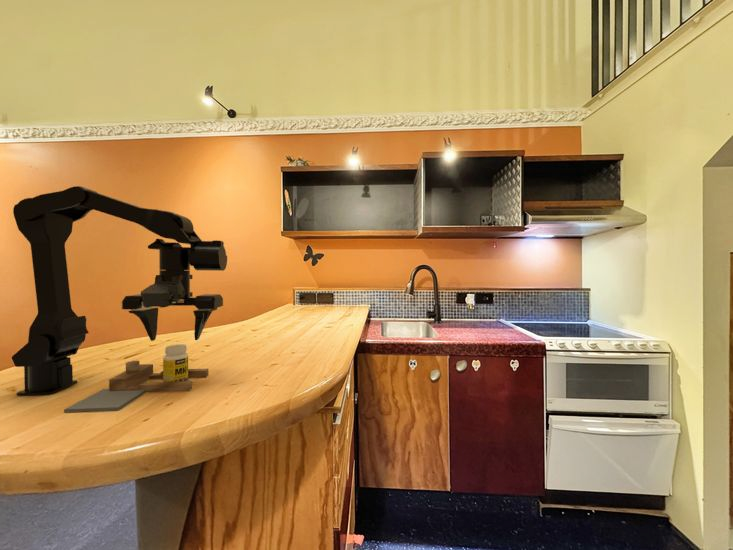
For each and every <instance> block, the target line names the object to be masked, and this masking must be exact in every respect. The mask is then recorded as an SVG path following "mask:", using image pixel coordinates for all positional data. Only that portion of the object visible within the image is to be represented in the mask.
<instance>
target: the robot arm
mask: <svg viewBox="0 0 733 550" xmlns="http://www.w3.org/2000/svg"><path fill="white" fill-rule="evenodd" d="M12 209H13V210H12V212H13V213H12V214H13V217H14V220H15V223H16V227H17V229H18V231H19V232H20V233H21V234H22V235H23V236H24V238H25V239H26V240H27V242H28V243H29V244H30V251H31V262H32V269H33V270H32V271H33V281H34V289H35V296H36V306H37V307H36V308H37V314H36V316H35V318H34V319H33V321H32V323H31V325H30V327H29V328H28V337H27V338H28V339H27V342H26V344H24V345H23V346H22V347H21V348H20V349H19V350H18V351H16V352H15V353H14V354H13V355H12V356H11V360H12V362H13V364H14V367H16V368H20V367H21V368H22V367H23V371H24V372H23V373H24V374H23V375H24V377H23V379H24V382H23V383H24V389H23V390H19V391H18V392H16V396H32V395H33V396H34V395H51V394H55V393H56V392H59V391H61V390H64V389H65V388H68V387H70V386H72V385H75V384H77V383H78V380H77V379H76V380H75V379H74V377H73V372H74V371H73V364H71V361H72V360H71V357H70V356H74V355H76V354H77V353H78V351H79V349H80V347H81V345H83V343H84V342H85V340H86V335H87V334H89V330H88V329H87V318H86V316H85V315H82V316H81V315H80V316H79V315H78V314H77V313H75V312H74V310H73V309H72V302H71V301H72V299H71V291H70V290H71V289H70V282H69V273H68V263H67V255H66V247H65V246H66V243H67V240H69V237H70V236H71V234H72V232H73V224H74V223H75V222H77V221H80V220H82V219H84V218H85V217H86V216H87V215H88V214H89V213H90V212H92V211H97V212H100V213H104V214H106V215H109V216H113V217H115V218H119V219H122V220H125V221H129V222H131V223H134V224H137V225H140V226H141V227H143V228H144V229H146V230H148V231H149V232H151V233H153V234H155V235H157V236H159V237H161V238H156V239H155V240H154V241H153V242H152V243H150V244H149V245H147V248H148V249H149V250H156V251H159V252H158V253H159V254H158V256H159V258H158V262H159V263H158V264H159V265H158V267H159V271H158V272H159V274H156V275H155V277H154V283H153V284H150V285H148V286H147V287H145V288H144V289H143V290H141V291H140V294H139V293H137V294H131V295H130V294H129V295H125V296H124V298H123V299H122V301H121V310H128V314H133V315H135V316H137V318H138V319H139V320H140V321H141V323H142V325H143V326H144V329H145V331H146V334H147V335H148V337H149V339H150V341H152V342H154V341H155V340H156V338H157V333H158V318H159V308H167V307H170V306H171V307H172V306H173V307H175V306H177V307H178V306H179V307H180V306H182V307H183V306H184V307H185V306H186V307H187V306H188V307H190V306H193V307H194V306H195V307H196V310H195V309H194V310H193V312H192V313H193V315H194V317H195V318H194V333H193V334H194V340H195V341H198V340H199V339H200V337H201V335H202V332H203V330H204V328H205V326H206V324H207V321H208V320H209V318H210V316H211V314H212V313H213V312H214V311H218V308H221V307H223V306H224V298H223V296H222V295H221V294H220V293H219V294H217V293H213V294H210V293H209V294H205V293H204V294H200V295H196V296H195V297H193V292H192V291H191V280H193V274H191V267H193V268H194V270H196V271H212V272H213V271H219V272H220V271H223V272H224V271H225V270H226V268H227V265H228V255H227V252H226V249H225V247H224V246H225V245H224V244H225V243H224V241H223V240H217V239H216V240H211V241H210V240H208V241H207V240H206V241H205V240H202V239H201V238H200V237H199V236H198V234H197V233H196V231H195V230H194V229H195V227H194V224H193V222H192V221H191V219H189V218H188V217H186V216H184V215H180V214H178V213H175V212H173V211H168V210H163V209H157V208H156V209H154V208H145V207H141V206H138V205H135V204H131V203H129V202H126V201H123V200H119V199H116V198H113V197H110V196H107V195H104V194H102V193H98V192H97V191H96V190H92V189H91V188H90V189H89V188H86V187H84V186H80V185H76V186H71V187H69V188H66V189H64V190H59V191H54V192H48V193H42V194H39V195H36V196H34V197H26V198H24V199H21V200H20V201H19V202H18V203H16V204H14V206H13V208H12ZM164 239H167V240H168V239H169V240H173V241H175V242H173V241H170V242H169V241H168V242H167V241H165V240H164ZM182 244H185V245H190V247H189V246H182Z"/></svg>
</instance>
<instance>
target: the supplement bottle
mask: <svg viewBox="0 0 733 550" xmlns="http://www.w3.org/2000/svg"><path fill="white" fill-rule="evenodd" d="M164 348H165V350H164V353H165V355H164V356H163V358H162V359H163V360H162V366H163V367H162V369H163V370H162V371H163V379H162V382H174V381H189V378H188V369H189V354H188V353H187V349H188V348H187V344H185V343H178V344H171V345H167V346H166V347H164Z"/></svg>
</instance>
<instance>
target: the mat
mask: <svg viewBox="0 0 733 550" xmlns="http://www.w3.org/2000/svg"><path fill="white" fill-rule="evenodd" d="M145 394H146V390H126V391H109V388H102V389H101V390H98V391H97V392H95V393H92V394H91V395H89V396H87V397H85V398H83V399H81V400H79V401H77V402H76V403H73V404H72V405H69V406H68V407H66V408H64V409H63V413H64V414H65V413H66V414H67V413H68V414H69V413H90V412H111V411H112V412H113V411H114V412H115V411H117V412H118V411H120V410H122V409H123V408H125V407H126V406H127V405H129V404H131V403H133V402H134V401H136V400H137V399H139V398H140V397H141V396H144V395H145Z"/></svg>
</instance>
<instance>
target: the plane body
mask: <svg viewBox="0 0 733 550" xmlns="http://www.w3.org/2000/svg"><path fill="white" fill-rule="evenodd" d="M208 376H209V368H188V379H190V378H191V379H194V378H195V379H196V378H197V379H198V378H207V377H208ZM160 379H161V380H163V370H161V371H160V372H157V373H156V372H155V373H154V363H151V364H148V363H146V364H140V360H130V361H126V362H125V370H124V371H123V372H121V373H120V374H117V375H115V376H113V377H111V378H109V379H108V387H109V388H108V389H109V391H126V390H146V393H151V394H152V393H172V392H173V393H175V392H191V390H193V389H194V388H193V387H194V386H193V385H194V382H193V380H188V381H174V382H163V381H149V380H160ZM147 381H148V382H147ZM146 393H145V394H146Z"/></svg>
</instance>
